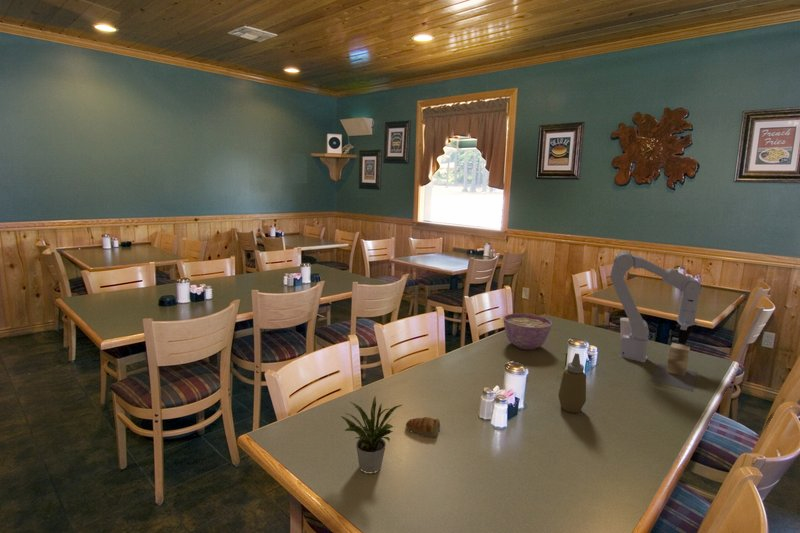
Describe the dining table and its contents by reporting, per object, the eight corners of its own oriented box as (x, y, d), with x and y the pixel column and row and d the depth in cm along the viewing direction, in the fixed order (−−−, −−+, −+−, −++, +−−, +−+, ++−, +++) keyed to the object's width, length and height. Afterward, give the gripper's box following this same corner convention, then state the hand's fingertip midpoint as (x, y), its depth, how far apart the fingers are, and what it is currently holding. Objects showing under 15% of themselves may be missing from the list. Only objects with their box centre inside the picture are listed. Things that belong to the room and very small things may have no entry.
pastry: (403, 434, 124) (404, 421, 123) (408, 422, 130) (408, 410, 129) (438, 439, 122) (438, 426, 121) (440, 427, 128) (441, 414, 128)
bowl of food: (491, 344, 195) (494, 318, 193) (517, 335, 209) (520, 310, 207) (533, 358, 181) (535, 331, 179) (558, 347, 194) (561, 321, 192)
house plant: (384, 442, 119) (386, 384, 116) (414, 471, 108) (417, 407, 105) (334, 458, 112) (335, 396, 109) (360, 491, 100) (362, 423, 97)
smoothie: (635, 342, 205) (639, 312, 202) (621, 341, 205) (625, 312, 202) (628, 337, 211) (632, 308, 209) (614, 337, 211) (618, 308, 209)
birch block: (666, 371, 172) (670, 346, 170) (668, 367, 177) (672, 342, 175) (684, 376, 168) (688, 350, 166) (686, 371, 173) (690, 346, 171)
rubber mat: (650, 381, 164) (650, 380, 164) (658, 364, 180) (658, 363, 180) (692, 392, 156) (692, 391, 156) (697, 373, 173) (697, 372, 173)
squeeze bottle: (585, 406, 143) (591, 352, 140) (583, 417, 136) (590, 361, 133) (558, 400, 147) (564, 347, 143) (555, 411, 140) (561, 355, 136)
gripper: (698, 315, 167) (692, 350, 170) (701, 308, 179) (695, 340, 181) (676, 312, 171) (671, 346, 174) (680, 304, 183) (675, 336, 185)
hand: (682, 343), depth 178 cm, fingers closed
